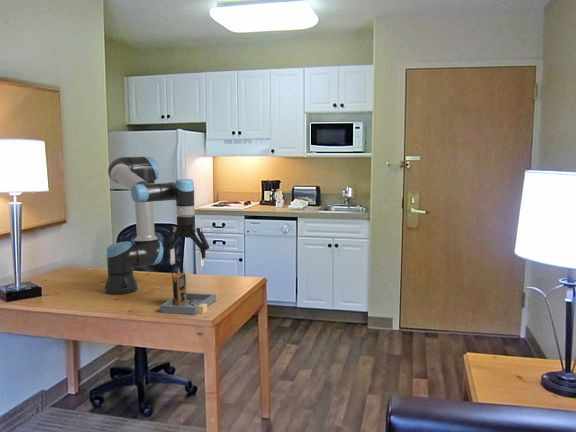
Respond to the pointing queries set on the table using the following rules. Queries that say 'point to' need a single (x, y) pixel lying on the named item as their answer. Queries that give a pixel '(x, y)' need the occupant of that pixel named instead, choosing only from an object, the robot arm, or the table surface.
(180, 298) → the multimeter
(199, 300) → the tray
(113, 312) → the table surface
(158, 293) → the table surface
